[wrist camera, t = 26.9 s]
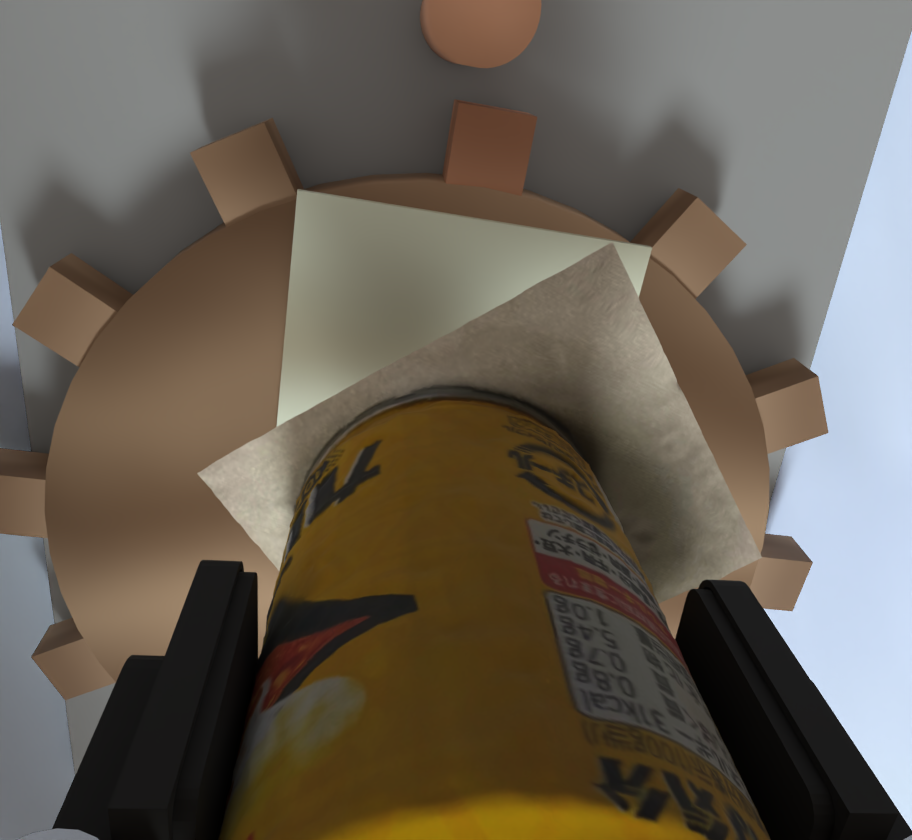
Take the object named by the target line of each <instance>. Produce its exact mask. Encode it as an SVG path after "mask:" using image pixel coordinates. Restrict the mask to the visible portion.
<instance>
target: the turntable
mask: <svg viewBox="0 0 912 840" xmlns="http://www.w3.org/2000/svg"><path fill="white" fill-rule="evenodd" d="M536 122H537V116H534V115H532V114H530V113H527V112H522V111H516V110H511V109H505V108H500V107H494V106H489V105H483V104H478V103H472V102H467V101H461V100H456V99H454V104H453V110H452V117H451V123H450V129H449V136H448V142H447V148H446V155H445V161H444V167H443V173H442V174H432V173H407V174H381V175H369V176H363V177H357V178H351V179H346V180H340V181H334V182H328V183H323V184H318V185H315V186H312V187H309V188H306V189H304V188H303V186H302V183H301V181H300V179H299V177H298V174H297V172H296V170H295V168H294V165H293V163H292V161H291V158H290V156H289V154H288V152H287V149H286V147H285V145H284V143H283V140H282V138H281V136H280V134H279V131H278V129H277V127H276V124H275V122H274V120H273V118H271V119H268V120H266V121H263V122H261V123H258V124H256V125H254V126H251V127H249V128H246V129H244V130H241V131H239V132H236V133H234V134H232V135H229V136H227V137H224V138H222V139H219V140H217V141H214V142H212V143H209V144H207V145H205V146H202V147H200V148H198V149H196V150H194V151H192V152H190V154H191V156H192V158H193V161H194V163H195V165H196V167H197V169H198V171H199V173H200V175H201V177H202V179H203V181H204V183H205V185H206V187H207V189H208V191H209V193H210V195H211V197H212V199H213V201H214V203H215V205H216V207H217V209H218V211H219V213H220V215H221V217H222V219H223V221H224V222H223V223H222V224H220V225H219V226H217V227H216V228H215V229H213V230H212V231H210V232H209V233H207V234H206V235H204V236H203V237H201V238H200V239H198V240H197V241H195V242H194V243H192V244H191V245H189V246H188V247H186V248H185V249H183V250H182V251H181V252H180V253H178V254H177V255H176V256H175V257H174V258H173V259H172V260H171V261H170V262H169V263H167V264H166V265H165V266H164V267H163V268H162V269H161V270H160V271H159V272H158V273H157V274H155V275H154V276H153V277H152V278H151V279H150V280H149V281H148V282H147V283H146V284H144V285H143V286H142V287H141V288H140V289H139V290H138V291H137V292H136V293H135V294H134V295H133V294H131V293H130V292H128V291H127V290H125V289H124V288H122V287H121V286H119V285H118V284H116V283H115V282H114V281H112V280H111V279H109V278H108V277H106V276H105V275H103V274H102V273H100V272H99V271H97V270H96V269H94V268H93V267H91V266H90V265H88V264H87V263H85V262H84V261H83V260H81V259H80V258H78V257H77V256H75V255H74V254H72V253H71V254H69V255H67V256H66V257H64V258H63V259H61V260H60V261H58V262H56V263H55V264H53V265H52V266H50V267H49V268H48V270H47V272H46V273H45V275H44V276H43V278H42V279H41V281H40V282H39V284H38V286H37V287H36V289H35V290H34V292H33V293H32V295H31V296H30V298H29V300H28V301H27V303H26V304H25V306H24V307H23V309H22V310H21V312H20V314H19V315H18V317H17V318H16V320H15V321H14V323H13V324H12V325H13V326H14V327H16V328H18V329H19V330H21V331H22V332H24V333H26V334H27V335H29V336H30V337H32V338H34V339H35V340H37V341H38V342H40V343H41V344H43V345H45V346H46V347H48V348H49V349H51V350H53V351H54V352H56V353H57V354H59V355H61V356H62V357H64V358H65V359H67V360H68V361H70V362H72V363H73V364H75V365H76V366H78V367H80V368H79V369H78V371H77V373H76V374H75V376H74V378H73V380H72V381H71V384H70V386H69V389H68V392H67V394H66V397H65V400H64V402H63V405H62V408H61V410H60V413H59V415H58V418H57V421H56V423H55V427H54V432H53V437H52V442H51V447H50V452H49V454H48V453H39V452H30V451H21V450H12V449H3V448H0V534H10V535H20V536H31V537H41V538H48V544H49V552H50V556H51V560H52V563H53V566H54V570H55V573H56V577H57V580H58V584H59V587H60V591H61V594H62V596H63V598H64V600H65V602H66V605H67V607H68V609H69V611H70V613H71V616H72V618H70V619H67V620H64V621H61V622H59V623H56V624H53V625H50V626H49V628H48V630H47V631H46V633H45V635H44V636H43V638H42V640H41V641H40V643H39V645H38V647H37V648H36V650H35V652H34V653H33V655H32V657H31V658H32V659H33V660H34V661H35V663H36V664H37V665H38V666H39V668H40V669H41V670H42V672H43V673H44V674H45V675H46V677H47V678H48V679H49V680H50V682H51V683H52V684H53V685H54V687H55V688H56V689H57V691H58V692H59V693H60V694H61V696H62V697H63V698H64V699H65V700H68V699H71V698H74V697H76V696H79V695H82V694H85V693H88V692H91V691H93V690H96V689H99V688H102V687H105V686H108V685H111V684H113V683H116V681H117V679H118V676H119V674H120V672H121V669H122V667H123V665H124V664H125V662H126V660H127V659H128V658H129V657H130V656H131V655H153V656H165V654H166V651H167V648H168V646H169V643H170V640H171V638H172V635H173V632H174V630H175V627H176V624H177V621H178V619H179V616H180V613H181V611H182V608H183V605H184V603H185V600H186V597H187V595H188V592H189V589H190V587H191V584H192V581H193V579H194V576H195V573H196V571H197V568H198V565H199V563H200V561H201V560H223V561H242V562H243V566H244V572H256V573H257V576H258V658H259V656H260V654H261V651H262V646H263V638H264V636H265V632H266V620H267V614H268V610H269V607H270V604H271V601H272V599H273V592H274V588H275V584H276V580H277V577H278V575H279V571H278V569H277V568H276V567H275V565H274V564H273V563H272V562H271V561H270V560H269V558H268V557H267V556H266V555H265V554H264V552H263V551H262V550H261V548H260V547H259V546H258V545H257V544H256V543H255V542H254V541H253V540H252V539H251V538H250V537H249V535H248V534H247V533H246V531H245V530H244V528H243V527H242V526H241V524H239V523H238V522H237V521H236V520H235V519H234V518H233V516H232V515H231V514H230V512H229V511H228V510H227V509H226V508H225V506H224V505H223V504H222V502H221V501H220V500H219V499H218V498H217V497H216V496H215V494H214V493H213V491H212V489H211V488H210V487H209V486H208V485H207V484H206V483H205V482H204V481H203V480H202V479H201V477H200V476H199V475H198V474H197V473H199V472H201V471H202V470H204V469H205V468H207V467H208V466H209V465H211V464H213V463H214V462H216V461H217V460H219V459H221V458H223V457H224V456H226V455H228V454H230V453H231V452H233V451H234V450H236V449H238V448H240V447H242V446H243V445H245V444H247V443H248V442H250V441H252V440H255V439H257V438H259V437H261V436H263V435H264V434H266V433H268V432H269V431H271V430H272V429H274V428H276V427H277V426H279V425H281V424H283V423H284V422H286V421H288V420H290V419H292V418H293V417H295V416H297V415H299V414H301V413H303V412H305V411H307V410H309V409H310V408H312V407H314V406H315V405H317V404H319V403H321V402H323V401H325V400H326V399H328V398H330V397H332V396H334V395H336V394H338V393H339V392H341V391H343V390H344V389H346V388H348V387H350V386H352V385H353V384H355V383H357V382H358V381H360V380H362V379H364V378H366V377H367V376H369V375H371V374H373V373H375V372H376V371H378V370H380V369H382V368H384V367H386V366H388V365H390V364H392V363H393V362H395V361H397V360H399V359H401V358H403V357H405V356H407V355H409V354H411V353H413V352H414V351H416V350H418V349H420V348H422V347H424V346H426V345H428V344H430V343H431V342H433V341H435V340H436V339H438V338H440V337H442V336H444V335H447V334H449V333H451V332H453V331H454V330H456V329H458V328H460V327H461V326H463V325H465V324H466V323H468V322H469V321H471V320H473V319H475V318H477V317H479V316H481V315H483V314H485V313H487V312H488V311H490V310H492V309H494V308H495V307H497V306H499V305H501V304H503V303H505V302H507V301H509V300H511V299H513V298H514V297H516V296H517V295H519V294H521V293H522V292H524V291H525V290H527V289H528V288H530V287H532V286H534V285H535V284H537V283H539V282H541V281H543V280H545V279H547V278H549V277H551V276H553V275H555V274H557V273H559V272H560V271H562V270H564V269H566V268H568V267H569V266H571V265H573V264H575V263H577V262H578V261H580V260H581V259H583V258H584V257H586V256H588V255H590V254H591V253H593V252H595V251H597V250H599V249H601V248H603V247H604V246H606V245H608V244H609V243H611V242H613V244H614V246H615V248H616V250H617V252H618V255H619V257H620V259H621V261H622V263H623V265H624V267H625V269H626V271H627V274H628V276H629V278H630V280H631V282H632V284H633V286H634V288H635V291H636V293H637V295H638V297H639V301H640V303H641V305H642V307H643V309H644V311H645V313H646V315H647V317H648V319H649V321H650V323H651V325H652V327H653V329H654V331H655V333H656V335H657V337H658V340H659V342H660V344H661V346H662V348H663V352H664V353H665V355H666V357H667V359H668V361H669V363H670V366H671V368H672V370H673V372H674V374H675V377H676V379H677V383H678V385H679V387H680V388H681V390H682V392H683V394H684V395H685V398H686V400H687V402H688V404H689V406H690V408H691V410H692V412H693V415H694V417H695V419H696V421H697V423H698V425H699V427H700V430H701V432H702V434H703V437H704V439H705V441H706V442H707V444H708V447H709V449H710V450H711V452H712V454H713V456H714V458H715V461H716V463H717V465H718V468H719V470H720V471H721V473H722V475H723V478H724V480H725V482H726V484H727V486H728V488H729V490H730V492H731V494H732V496H733V498H734V501H735V503H736V505H737V507H738V509H739V511H740V513H741V516H742V517H743V519H744V521H745V524H746V526H747V528H748V529H749V531H750V533H751V535H752V537H753V539H754V542H755V544H756V546H757V548H758V550H759V552H760V554H761V556H762V558H760V559H758V560H756V561H754V562H752V563H750V564H748V565H746V566H744V567H742V568H739V569H737V570H735V571H733V572H731V573H730V574H728V575H726V576H725V577H723V578H721V579H719V580H732V581H742V582H745V583H746V584H747V585H748V586H749V588H750V589H751V591H752V592H753V594H754V595H755V597H756V598H757V600H758V601H759V603H760V605H761V606H762V608H765V609H775V610H786V611H793V608H794V606H795V603H796V601H797V599H798V596H799V594H800V592H801V589H802V587H803V584H804V582H805V580H806V577H807V575H808V573H809V570H810V568H811V565H812V563H813V562H812V561H811V560H810V559H809V557H808V556H807V555H806V554H805V553H804V551H803V550H802V549H801V548H800V547H799V545H798V544H797V543H796V542H795V540H794V539H793V538H792V537H790V536H781V535H772V534H765V530H766V524H767V518H768V511H769V470H770V468H769V461H768V454H769V453H772V452H775V451H778V450H781V449H784V448H786V447H789V446H792V445H795V444H798V443H801V442H804V441H806V440H809V439H812V438H815V437H818V436H821V435H823V434H826V433H828V428H827V423H826V417H825V412H824V406H823V401H822V395H821V390H820V384H819V378H818V376H817V375H816V374H815V373H813V372H812V371H811V370H809V369H808V368H807V367H805V366H804V365H803V364H801V363H800V362H799V361H797V360H796V359H795V358H792V359H789V360H787V361H784V362H781V363H778V364H776V365H773V366H770V367H767V368H764V369H762V370H759V371H756V372H753V373H751V374H748V375H745V373H744V371H743V369H742V367H741V365H740V363H739V361H738V359H737V357H736V355H735V353H734V351H733V348H732V347H731V346H730V344H729V343H728V341H727V340H726V338H725V337H724V336H723V334H722V333H721V331H720V330H719V328H718V327H717V325H716V324H715V323H714V321H713V320H712V318H711V317H710V315H709V314H708V312H707V311H706V310H705V309H704V308H703V307H702V306H701V305H700V304H699V303H698V302H697V301H696V298H697V297H698V296H699V295H700V294H701V293H702V292H703V290H704V289H705V288H706V287H707V286H708V285H709V284H710V283H711V282H712V281H713V280H714V279H715V278H716V277H717V276H718V275H719V274H720V273H721V272H722V270H723V269H724V268H725V267H726V266H727V265H728V264H729V263H730V262H731V261H732V260H733V259H734V258H735V257H736V256H737V255H738V254H739V253H740V252H741V250H742V249H743V248H744V247H745V246H746V245H747V244H746V243H745V242H744V241H743V240H742V239H741V238H740V237H739V236H738V235H737V234H735V233H734V232H733V231H732V230H731V229H730V228H729V227H728V226H727V225H726V224H725V223H724V222H723V221H722V220H721V219H720V218H719V217H718V216H717V215H716V214H715V213H714V212H713V211H712V210H711V209H710V208H709V207H707V206H706V205H705V204H704V203H703V202H702V201H701V200H700V199H699V198H698V197H696V196H694V195H692V194H690V193H688V192H686V191H684V190H682V189H680V188H678V189H677V190H676V191H675V192H674V194H673V195H672V196H671V197H670V198H669V199H668V200H667V201H666V203H665V204H664V205H663V206H662V207H661V208H660V209H659V210H658V211H657V213H656V214H655V215H654V216H653V217H652V218H651V219H650V220H649V221H648V223H647V224H646V225H645V226H644V227H643V228H642V229H641V230H640V232H639V233H638V234H637V235H636V236H635V237H634V238H633V239H632V240H631V242H629V241H628V240H626V239H625V238H624V237H623V236H621V235H620V234H619V233H617V232H616V231H614V230H612V229H610V228H609V227H607V226H605V225H603V224H602V223H600V222H598V221H596V220H595V219H593V218H591V217H589V216H587V215H586V214H584V213H582V212H580V211H579V210H577V209H575V208H573V207H570V206H568V205H565V204H562V203H560V202H557V201H555V200H552V199H550V198H547V197H545V196H542V195H540V194H537V193H534V192H532V191H529V190H526V189H523V187H524V182H525V177H526V172H527V167H528V162H529V157H530V152H531V147H532V142H533V137H534V132H535V127H536ZM698 588H699V587H697V588H694V589H698ZM689 591H690V590H688V591H686V592H683V593H681V594H679V595H677V596H675V597H673V598H670V599H668V600H666V601H663V602H661V603H659V606H660V609H661V610H662V612H663V614H664V615H665V617H666V621H667V625H668V628H669V630H670V632H671V634H672V636H673V638H674V639H675V638H676V634H677V630H678V626H679V623H680V619H681V615H682V612H683V608H684V604H685V600H686V597H687V594H688V592H689Z"/></svg>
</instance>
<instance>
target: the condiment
mask: <svg viewBox="0 0 912 840" xmlns="http://www.w3.org/2000/svg"><path fill="white" fill-rule="evenodd" d="M197 474H198V475H199V476H200V477H201V479H202V480H203V481H204V482H205V483H206V484H207V485H208V486H209V487H210V488H211V489H212V491H213V493H214V494H215V496H216V497H217V498H218V499H219V500H220V501H221V502H222V504H223V505H224V506H225V508H226V509H227V510H228V511H229V512H230V514H231V515H232V516H233V518H234V519H235V520H236V521H237V522H238V523H239V524H241V526H242V527H243V528H244V530H245V531H246V533H247V534H248V535H249V537H250V538H251V539H252V540H253V541H254V542H255V543H256V544H257V545H258V546H259V547H260V548H261V550H262V551H263V552H264V554H265V555H266V556H267V557H268V558H269V560H270V561H271V562H272V563H273V564H274V565H275V567H276V568H277V569H278V571H279V575H278V577H277V580H276V584H275V588H274V592H273V599H272V601H271V604H270V607H269V610H268V614H267V620H266V632H265V636H264V638H263V646H262V651H261V654H260V656H259V658H258V661H257V665H256V669H255V672H254V676H253V681H252V686H251V698H250V703H249V706H248V708H247V713H246V717H245V724H244V730H243V734H242V737H241V742H240V746H239V750H238V754H237V759H236V764H235V767H234V770H233V776H232V783H231V788H230V791H229V793H228V796H227V799H226V806H225V813H224V818H223V822H222V825H221V829H220V833H219V837H218V840H771V839H770V837H769V835H768V833H767V830H766V828H765V826H764V824H763V822H762V820H761V818H760V816H759V814H758V811H757V809H756V807H755V805H754V803H753V801H752V800H751V797H750V795H749V793H748V791H747V788H746V786H745V784H744V782H743V781H742V778H741V776H740V774H739V772H738V770H737V769H736V767H735V764H734V762H733V759H732V757H731V754H730V753H729V751H728V749H727V747H726V745H725V744H724V742H723V740H722V738H721V736H720V733H719V731H718V729H717V727H716V725H715V723H714V721H713V719H712V717H711V715H710V712H709V710H708V708H707V706H706V704H705V703H704V701H703V699H702V697H701V694H700V693H699V691H698V689H697V686H696V684H695V682H694V680H693V678H692V676H691V674H690V671H689V669H688V666H687V665H686V663H685V661H684V658H683V656H682V653H681V651H680V649H679V646H678V644H677V642H676V640H675V639H674V638H673V636H672V634H671V632H670V630H669V628H668V625H667V621H666V617H665V615H664V614H663V612H662V610H661V609H660V606H659V603H661V602H663V601H666V600H668V599H670V598H673V597H675V596H677V595H679V594H681V593H683V592H686V591H688V590H691V589H694V588H697V587H699V585H700V584H701V582H702V581H704V580H706V579H707V580H719V579H721V578H723V577H725V576H726V575H728V574H730V573H731V572H733V571H735V570H737V569H739V568H742V567H744V566H746V565H748V564H750V563H752V562H754V561H756V560H758V559H760V558H762V556H761V554H760V552H759V550H758V548H757V546H756V544H755V542H754V539H753V537H752V535H751V533H750V531H749V529H748V528H747V526H746V524H745V521H744V519H743V517H742V516H741V513H740V511H739V509H738V507H737V505H736V503H735V501H734V498H733V496H732V494H731V492H730V490H729V488H728V486H727V484H726V482H725V480H724V478H723V475H722V473H721V471H720V470H719V468H718V465H717V463H716V461H715V458H714V456H713V454H712V452H711V450H710V449H709V447H708V444H707V442H706V441H705V439H704V437H703V434H702V432H701V430H700V427H699V425H698V423H697V421H696V419H695V417H694V415H693V412H692V410H691V408H690V406H689V404H688V402H687V400H686V398H685V395H684V394H683V392H682V390H681V388H680V387H679V385H678V383H677V379H676V377H675V374H674V372H673V370H672V368H671V366H670V363H669V361H668V359H667V357H666V355H665V353H664V352H663V348H662V346H661V344H660V342H659V340H658V337H657V335H656V333H655V331H654V329H653V327H652V325H651V323H650V321H649V319H648V317H647V315H646V313H645V311H644V309H643V307H642V305H641V303H640V301H639V297H638V295H637V293H636V291H635V288H634V286H633V284H632V282H631V280H630V278H629V276H628V274H627V271H626V269H625V267H624V265H623V263H622V261H621V259H620V257H619V255H618V252H617V250H616V248H615V246H614V244H613V242H611V243H609V244H608V245H606V246H604V247H603V248H601V249H599V250H597V251H595V252H593V253H591V254H590V255H588V256H586V257H584V258H583V259H581V260H580V261H578V262H577V263H575V264H573V265H571V266H569V267H568V268H566V269H564V270H562V271H560V272H559V273H557V274H555V275H553V276H551V277H549V278H547V279H545V280H543V281H541V282H539V283H537V284H535V285H534V286H532V287H530V288H528V289H527V290H525V291H524V292H522V293H521V294H519V295H517V296H516V297H514V298H513V299H511V300H509V301H507V302H505V303H503V304H501V305H499V306H497V307H495V308H494V309H492V310H490V311H488V312H487V313H485V314H483V315H481V316H479V317H477V318H475V319H473V320H471V321H469V322H468V323H466V324H465V325H463V326H461V327H460V328H458V329H456V330H454V331H453V332H451V333H449V334H447V335H444V336H442V337H440V338H438V339H436V340H435V341H433V342H431V343H430V344H428V345H426V346H424V347H422V348H420V349H418V350H416V351H414V352H413V353H411V354H409V355H407V356H405V357H403V358H401V359H399V360H397V361H395V362H393V363H392V364H390V365H388V366H386V367H384V368H382V369H380V370H378V371H376V372H375V373H373V374H371V375H369V376H367V377H366V378H364V379H362V380H360V381H358V382H357V383H355V384H353V385H352V386H350V387H348V388H346V389H344V390H343V391H341V392H339V393H338V394H336V395H334V396H332V397H330V398H328V399H326V400H325V401H323V402H321V403H319V404H317V405H315V406H314V407H312V408H310V409H309V410H307V411H305V412H303V413H301V414H299V415H297V416H295V417H293V418H292V419H290V420H288V421H286V422H284V423H283V424H281V425H279V426H277V427H276V428H274V429H272V430H271V431H269V432H268V433H266V434H264V435H263V436H261V437H259V438H257V439H255V440H252V441H250V442H248V443H247V444H245V445H243V446H242V447H240V448H238V449H236V450H234V451H233V452H231V453H230V454H228V455H226V456H224V457H223V458H221V459H219V460H217V461H216V462H214V463H213V464H211V465H209V466H208V467H207V468H205V469H204V470H202V471H201V472H199V473H197Z"/></svg>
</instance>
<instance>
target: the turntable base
mask: <svg viewBox="0 0 912 840" xmlns="http://www.w3.org/2000/svg"><path fill="white" fill-rule="evenodd" d="M911 31H912V0H0V222H1V229H2V237H3V244H4V252H5V259H6V266H7V274H8V281H9V289H10V296H11V304H12V311H13V318H14V321H15V320H16V318H17V317H18V315H19V314H20V312H21V310H22V309H23V307H24V306H25V304H26V303H27V301H28V300H29V298H30V296H31V295H32V293H33V292H34V290H35V289H36V287H37V286H38V284H39V282H40V281H41V279H42V278H43V276H44V275H45V273H46V272H47V270H48V268H49V267H50V266H52V265H53V264H55V263H56V262H58V261H60V260H61V259H63V258H64V257H66V256H67V255H69V254H71V253H72V254H74V255H75V256H77V257H78V258H80V259H81V260H83V261H84V262H85V263H87V264H88V265H90V266H91V267H93V268H94V269H96V270H97V271H99V272H100V273H102V274H103V275H105V276H106V277H108V278H109V279H111V280H112V281H114V282H115V283H116V284H118V285H119V286H121V287H122V288H124V289H125V290H127V291H128V292H130V293H131V294H133V295H134V294H135V293H136V292H137V291H138V290H139V289H140V288H141V287H142V286H143V285H144V284H146V283H147V282H148V281H149V280H150V279H151V278H152V277H153V276H154V275H155V274H157V273H158V272H159V271H160V270H161V269H162V268H163V267H164V266H165V265H166V264H167V263H169V262H170V261H171V260H172V259H173V258H174V257H175V256H176V255H177V254H178V253H180V252H181V251H182V250H183V249H185V248H186V247H188V246H189V245H191V244H192V243H194V242H195V241H197V240H198V239H200V238H201V237H203V236H204V235H206V234H207V233H209V232H210V231H212V230H213V229H215V228H216V227H217V226H219V225H220V224H222V223H223V222H224V221H223V219H222V217H221V215H220V213H219V211H218V209H217V207H216V205H215V203H214V201H213V199H212V197H211V195H210V193H209V191H208V189H207V187H206V185H205V183H204V181H203V179H202V177H201V175H200V173H199V171H198V169H197V167H196V165H195V163H194V161H193V158H192V156H191V154H190V152H192V151H194V150H196V149H198V148H200V147H202V146H205V145H207V144H209V143H212V142H214V141H217V140H219V139H222V138H224V137H227V136H229V135H232V134H234V133H236V132H239V131H241V130H244V129H246V128H249V127H251V126H254V125H256V124H258V123H261V122H263V121H266V120H268V119H271V118H273V120H274V122H275V124H276V127H277V129H278V131H279V134H280V136H281V138H282V140H283V143H284V145H285V147H286V149H287V152H288V154H289V156H290V158H291V161H292V163H293V165H294V168H295V170H296V172H297V174H298V177H299V179H300V181H301V183H302V186H303V188H304V189H306V188H309V187H312V186H315V185H318V184H323V183H328V182H334V181H340V180H346V179H351V178H357V177H363V176H369V175H381V174H407V173H432V174H442V173H443V167H444V161H445V155H446V148H447V142H448V136H449V129H450V123H451V117H452V110H453V104H454V99H456V100H461V101H467V102H472V103H478V104H483V105H489V106H494V107H500V108H505V109H511V110H516V111H522V112H527V113H530V114H532V115H534V116H537V122H536V127H535V132H534V137H533V142H532V147H531V152H530V157H529V162H528V167H527V172H526V177H525V182H524V187H523V189H526V190H529V191H532V192H534V193H537V194H540V195H542V196H545V197H547V198H550V199H552V200H555V201H557V202H560V203H562V204H565V205H568V206H570V207H573V208H575V209H577V210H579V211H580V212H582V213H584V214H586V215H587V216H589V217H591V218H593V219H595V220H596V221H598V222H600V223H602V224H603V225H605V226H607V227H609V228H610V229H612V230H614V231H616V232H617V233H619V234H620V235H621V236H623V237H624V238H625V239H626V240H628V241H629V242H631V240H632V239H633V238H634V237H635V236H636V235H637V234H638V233H639V232H640V230H641V229H642V228H643V227H644V226H645V225H646V224H647V223H648V221H649V220H650V219H651V218H652V217H653V216H654V215H655V214H656V213H657V211H658V210H659V209H660V208H661V207H662V206H663V205H664V204H665V203H666V201H667V200H668V199H669V198H670V197H671V196H672V195H673V194H674V192H675V191H676V190H677V189H678V188H680V189H682V190H684V191H686V192H688V193H690V194H692V195H694V196H696V197H698V198H699V199H700V200H701V201H702V202H703V203H704V204H705V205H706V206H707V207H709V208H710V209H711V210H712V211H713V212H714V213H715V214H716V215H717V216H718V217H719V218H720V219H721V220H722V221H723V222H724V223H725V224H726V225H727V226H728V227H729V228H730V229H731V230H732V231H733V232H734V233H735V234H737V235H738V236H739V237H740V238H741V239H742V240H743V241H744V242H745V243H746V244H747V245H746V246H745V247H744V248H743V249H742V250H741V252H740V253H739V254H738V255H737V256H736V257H735V258H734V259H733V260H732V261H731V262H730V263H729V264H728V265H727V266H726V267H725V268H724V269H723V270H722V272H721V273H720V274H719V275H718V276H717V277H716V278H715V279H714V280H713V281H712V282H711V283H710V284H709V285H708V286H707V287H706V288H705V289H704V290H703V292H702V293H701V294H700V295H699V296H698V297H697V298H696V301H697V302H698V303H699V304H700V305H701V306H702V307H703V308H704V309H705V310H706V311H707V312H708V314H709V315H710V317H711V318H712V320H713V321H714V323H715V324H716V325H717V327H718V328H719V330H720V331H721V333H722V334H723V336H724V337H725V338H726V340H727V341H728V343H729V344H730V346H731V347H732V348H733V351H734V353H735V355H736V357H737V359H738V361H739V363H740V365H741V367H742V369H743V371H744V373H745V375H748V374H751V373H753V372H756V371H759V370H762V369H764V368H767V367H770V366H773V365H776V364H778V363H781V362H784V361H787V360H789V359H792V358H795V359H796V360H797V361H799V362H800V363H801V364H803V365H804V366H805V367H807V368H808V369H809V370H810V367H811V364H812V360H813V357H814V354H815V350H816V347H817V344H818V340H819V337H820V334H821V330H822V327H823V324H824V320H825V317H826V314H827V310H828V307H829V304H830V300H831V297H832V294H833V290H834V287H835V284H836V280H837V277H838V274H839V270H840V267H841V264H842V260H843V257H844V254H845V251H846V247H847V244H848V241H849V237H850V234H851V231H852V227H853V224H854V221H855V217H856V214H857V211H858V207H859V204H860V201H861V197H862V194H863V191H864V187H865V184H866V181H867V177H868V174H869V171H870V167H871V164H872V161H873V157H874V154H875V151H876V147H877V144H878V141H879V137H880V134H881V131H882V127H883V124H884V121H885V117H886V114H887V111H888V108H889V104H890V101H891V98H892V94H893V91H894V88H895V84H896V81H897V78H898V74H899V71H900V68H901V64H902V61H903V58H904V54H905V51H906V48H907V44H908V41H909V38H910V34H911ZM15 333H16V341H17V348H18V356H19V363H20V370H21V378H22V385H23V393H24V400H25V407H26V415H27V422H28V430H29V437H30V445H31V452H39V453H48V454H49V452H50V447H51V442H52V437H53V432H54V427H55V423H56V421H57V418H58V415H59V413H60V410H61V408H62V405H63V402H64V400H65V397H66V394H67V392H68V389H69V386H70V384H71V381H72V380H73V378H74V376H75V374H76V373H77V371H78V369H79V368H80V367H78V366H76V365H75V364H73V363H72V362H70V361H68V360H67V359H65V358H64V357H62V356H61V355H59V354H57V353H56V352H54V351H53V350H51V349H49V348H48V347H46V346H45V345H43V344H41V343H40V342H38V341H37V340H35V339H34V338H32V337H30V336H29V335H27V334H26V333H24V332H22V331H21V330H19V329H18V328H16V327H15ZM785 450H786V448H784V449H781V450H778V451H775V452H772V453H769V454H768V461H769V468H770V470H769V503H770V500H771V497H772V493H773V490H774V487H775V483H776V480H777V477H778V473H779V470H780V467H781V463H782V460H783V457H784V453H785ZM43 541H44V548H45V556H46V563H47V571H48V578H49V586H50V593H51V600H52V608H53V615H54V623H55V624H56V623H59V622H61V621H64V620H67V619H70V618H72V616H71V613H70V611H69V609H68V607H67V605H66V602H65V600H64V598H63V596H62V594H61V591H60V587H59V584H58V580H57V577H56V573H55V570H54V566H53V563H52V560H51V556H50V552H49V544H48V538H43ZM114 686H115V683H113V684H111V685H108V686H105V687H102V688H99V689H96V690H93V691H91V692H88V693H85V694H82V695H79V696H76V697H74V698H71V699H68V700H65V704H66V712H67V719H68V727H69V734H70V741H71V749H72V756H73V764H74V771H75V775H76V773H77V771H78V768H79V766H80V764H81V761H82V759H83V757H84V755H85V752H86V750H87V748H88V745H89V743H90V741H91V738H92V736H93V734H94V732H95V729H96V727H97V725H98V722H99V720H100V718H101V715H102V713H103V711H104V709H105V706H106V704H107V702H108V699H109V697H110V695H111V692H112V690H113V688H114Z"/></svg>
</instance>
